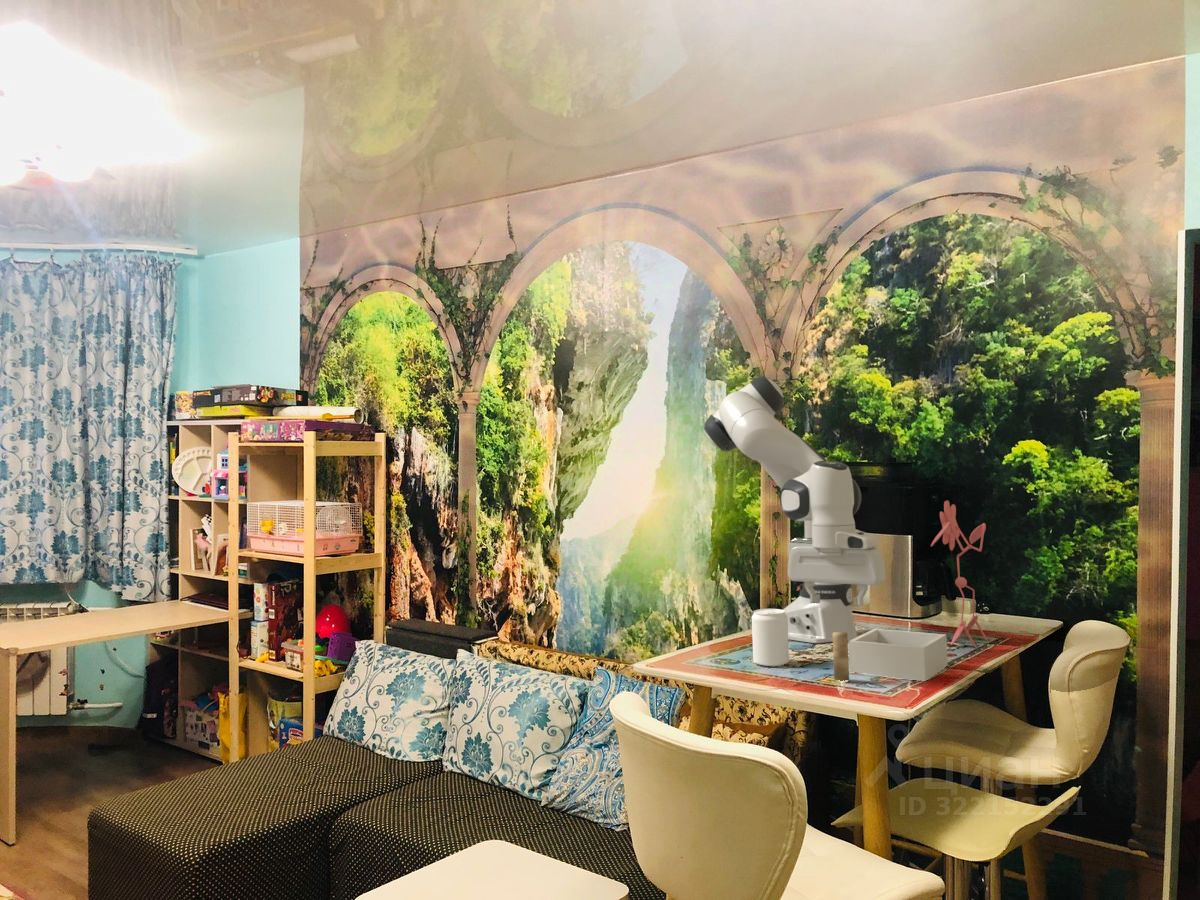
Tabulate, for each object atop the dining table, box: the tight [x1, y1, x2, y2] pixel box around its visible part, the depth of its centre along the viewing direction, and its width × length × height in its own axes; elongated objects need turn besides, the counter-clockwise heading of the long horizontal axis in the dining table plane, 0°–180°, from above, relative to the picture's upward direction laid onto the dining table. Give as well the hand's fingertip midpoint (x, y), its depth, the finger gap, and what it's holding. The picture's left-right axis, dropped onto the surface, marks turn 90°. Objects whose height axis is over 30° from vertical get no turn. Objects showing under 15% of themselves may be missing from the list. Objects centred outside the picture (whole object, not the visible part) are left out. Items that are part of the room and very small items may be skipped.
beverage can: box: [751, 608, 790, 667], centre depth 207 cm, size 8×8×12 cm
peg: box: [832, 632, 850, 681], centre depth 189 cm, size 3×3×10 cm
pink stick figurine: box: [930, 500, 997, 648], centre depth 225 cm, size 15×26×35 cm, turn 141°
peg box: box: [848, 628, 948, 682], centre depth 197 cm, size 16×16×7 cm
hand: (836, 604), depth 189 cm, fingers open, 8 cm apart
